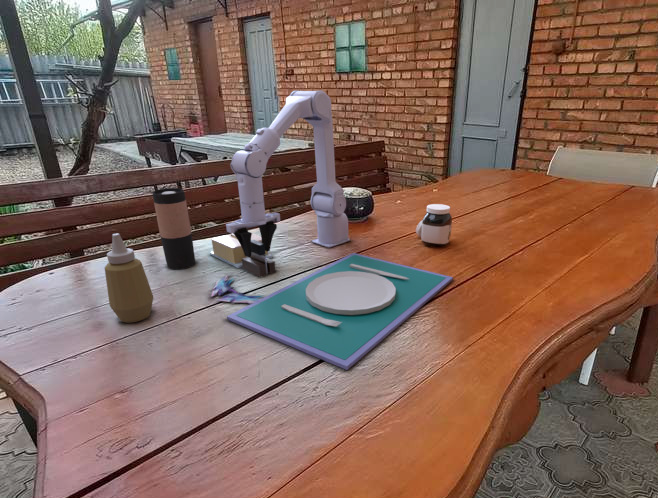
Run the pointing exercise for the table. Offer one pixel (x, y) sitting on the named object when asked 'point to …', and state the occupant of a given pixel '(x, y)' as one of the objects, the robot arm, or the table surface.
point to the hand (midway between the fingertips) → (257, 253)
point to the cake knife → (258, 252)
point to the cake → (232, 249)
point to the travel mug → (174, 227)
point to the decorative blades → (224, 288)
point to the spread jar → (435, 226)
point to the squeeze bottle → (127, 283)
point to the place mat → (342, 307)
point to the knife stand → (258, 266)
